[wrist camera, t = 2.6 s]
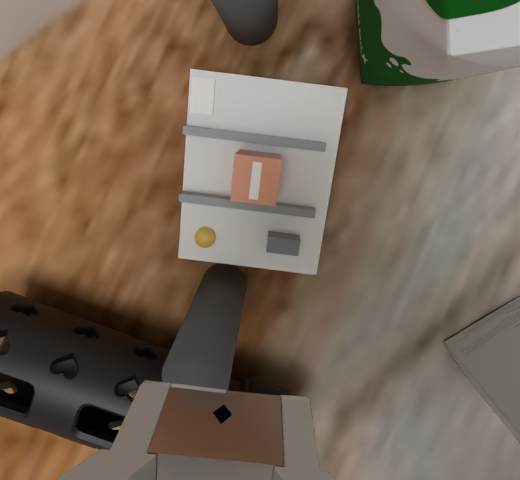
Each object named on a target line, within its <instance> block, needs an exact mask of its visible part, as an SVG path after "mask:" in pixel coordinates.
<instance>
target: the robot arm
mask: <svg viewBox="0 0 520 480" xmlns="http://www.w3.org/2000/svg"><path fill="white" fill-rule="evenodd" d="M57 480H336V479H335V478H334V477H333V476H332V475H331V473H330V472H323V471H320V465H319V458H318V452H317V445H316V438H315V431H314V425H313V418H312V411H311V405H310V400H309V399H308V397H302V396H289V395H280V396H278V395H268V394H258V393H248V392H238V391H227V390H222V389H214V388H206V387H199V386H191V385H183V384H175V383H173V384H171V383H165V382H156V381H148V380H145V381H144V382H143V383H142V384H141V385H140V386H139V389H138V391H137V393H136V395H135V397H134V399H133V402H132V404H131V406H130V408H129V410H128V412H127V415H126V417H125V419H124V421H123V423H122V425H121V428H120V430H119V432H118V434H117V436H116V438H115V441H114V443H113V445H112V447H111V449H110V450H106V449H100V450H99V451H97V452H96V453H95V454H93V455H92V456H90V457H89V458H87V459H86V460H84V461H83V462H81V463H80V464H78V465H77V466H76V467H74V468H73V469H71V470H70V471H68V472H67V473H65V474H64V475H62V476H61V477H60V478H58V479H57Z"/></svg>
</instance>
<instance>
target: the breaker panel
mask: <svg viewBox="0 0 520 480" xmlns="http://www.w3.org/2000/svg"><path fill="white" fill-rule="evenodd" d="M347 90H348V88H343V87H335V86H327V85H318V84H310V83H302V82H294V81H286V80H278V79H270V78H261V77H253V76H245V75H237V74H229V73H221V72H213V71H205V70H196V69H190V83H189V98H188V114H187V125H184V126H183V135H186V145H185V161H184V177H183V191H182V192H181V193H179V202H182V208H181V224H180V239H179V255H178V258H182V259H190V260H198V261H206V262H214V263H223V264H231V265H239V266H247V267H255V268H263V269H271V270H279V271H287V272H296V273H304V274H312V275H316V274H317V268H318V262H319V256H320V250H321V244H322V238H323V232H324V226H325V220H326V214H327V208H328V202H329V197H330V191H331V185H332V179H333V173H334V167H335V161H336V155H337V149H338V143H339V137H340V131H341V125H342V120H343V114H344V108H345V102H346V96H347ZM240 149H242V150H250V151H258V152H267V153H275V154H281V157H282V163H281V171H280V179H279V186H278V194H277V201H276V206H269V205H261V204H253V203H245V202H237V201H230V196H231V186H232V175H233V165H234V155H235V153H236V152H237V151H238V150H240Z"/></svg>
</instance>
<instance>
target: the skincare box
mask: <svg viewBox="0 0 520 480" xmlns="http://www.w3.org/2000/svg"><path fill="white" fill-rule="evenodd" d="M444 344H445V346H446V347H447V349H448V350H449V352H450V353H451V355H452V356H453V357H454V359H455V360H456V362H457V363H458V365H459V366H460V368H461V369H462V370H463V372H464V373H465V375H466V376H467V378H468V379H469V380H470V382H471V383H472V385H473V386H474V387H475V389H476V390H477V391H478V392H479V394H480V395H481V396H482V397H483V399H484V400H485V401H486V402H487V404H488V405H489V406H490V407H491V408H492V410H493V411H494V412H495V413H496V415H497V416H498V417H499V418H500V419H501V421H502V422H503V423H504V424H505V425H506V427H507V428H508V429H509V430H510V432H511V433H512V434H513V435H514V437H515V438H516V439H517V440H518V442H519V443H520V296H519V297H518V298H516V299H514V300H512V301H511V302H509V303H508V304H506V305H504V306H503V307H501V308H499V309H498V310H496V311H495V312H493V313H491V314H489V315H488V316H486V317H484V318H483V319H481V320H479V321H478V322H476V323H474V324H473V325H471V326H469V327H468V328H466V329H465V330H463V331H461V332H460V333H458V334H457V335H455V336H453V337H451V338H450V339H448V340H446V341H445V342H444Z"/></svg>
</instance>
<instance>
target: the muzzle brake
mask: <svg viewBox="0 0 520 480" xmlns="http://www.w3.org/2000/svg"><path fill="white" fill-rule="evenodd" d="M4 336H5V338H4V340H3V342H2V344H1V346H0V416H1V417H4V418H7V419H10V420H13V421H16V422H19V423H22V424H25V425H28V426H31V427H34V428H39V429H41V430H44V431H47V432H50V433H53V434H56V435H58V436H60V437H63V438H66V439H69V440H72V441H75V442H78V443H80V444H83V445H86V446H89V447H92V448H97V449H106V450H110V449H111V447H112V445H113V443H114V441H115V438H116V436H117V434H118V432H119V430H113V429H112V428H115V427H119V426H121V425H122V423H123V421H124V419H125V417H126V415H127V412H128V410H129V408H130V406H131V404H132V402H133V399H134V398H132V397H130V396H129V394H128V393H129V392H132V391H135V390H137V391H138V389H139V386H140V385H141V384H142V383H143V382H144V381H145V380H148V381H156V382H162V368H163V365H164V363H165V361H166V359H167V357H168V354H169V352H170V350H169V349H166V348H163V347H161V346H158V345H155V344H152V343H150V342H147V341H144V340H141V339H139V338H136V337H133V336H130V335H128V334H125V333H122V332H119V331H117V330H114V329H111V328H108V327H106V326H103V325H100V324H98V323H95V322H92V321H89V320H87V319H84V318H81V317H78V316H76V315H73V314H70V313H67V312H65V311H62V310H59V309H56V308H54V307H51V306H48V305H45V304H43V303H40V302H37V301H34V300H32V299H29V298H26V297H23V296H21V295H18V294H15V293H12V292H9V291H4V292H0V337H4ZM11 387H12V389H13V391H14V393H13V394H8V393H6V392H5V391H4V390H3V389H8V388H11ZM227 391H238V392H248V393H258V394H268V395H278V396H280V395H289V396H293V395H292V393H291V392H290V391H289V390H287V389H285V388H283V387H280V386H277V385H274V384H272V383H269V382H266V381H263V380H261V379H258V378H255V377H252V376H251V377H249V378H246V377H243V378H242V379H241V380H240V381H237V380H234V379H231V378H230V383H229V387H228V390H227Z"/></svg>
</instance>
